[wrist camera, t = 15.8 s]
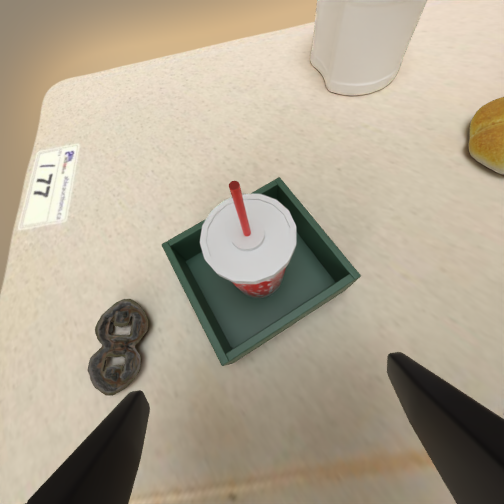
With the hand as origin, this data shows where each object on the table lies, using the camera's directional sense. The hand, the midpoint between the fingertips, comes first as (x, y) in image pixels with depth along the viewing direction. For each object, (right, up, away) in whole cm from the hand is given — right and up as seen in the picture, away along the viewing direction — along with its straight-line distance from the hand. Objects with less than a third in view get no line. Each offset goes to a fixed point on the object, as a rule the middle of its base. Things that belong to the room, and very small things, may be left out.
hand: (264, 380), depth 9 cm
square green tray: (0, +2, +15) cm, 16 cm away
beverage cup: (0, +2, +15) cm, 15 cm away
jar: (+13, +30, +25) cm, 41 cm away
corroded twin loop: (-12, -4, +14) cm, 19 cm away
